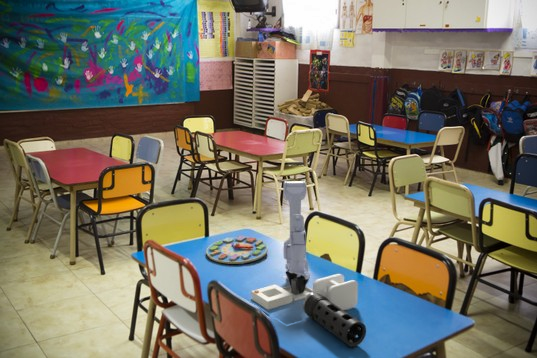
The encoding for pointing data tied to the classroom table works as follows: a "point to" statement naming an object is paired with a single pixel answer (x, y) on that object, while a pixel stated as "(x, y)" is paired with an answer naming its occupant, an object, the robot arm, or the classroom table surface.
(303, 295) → the tray
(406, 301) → the classroom table surface
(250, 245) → the shape sorting clock
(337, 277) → the cable organizer
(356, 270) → the classroom table surface
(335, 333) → the muzzle brake
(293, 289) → the plug
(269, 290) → the socket block
